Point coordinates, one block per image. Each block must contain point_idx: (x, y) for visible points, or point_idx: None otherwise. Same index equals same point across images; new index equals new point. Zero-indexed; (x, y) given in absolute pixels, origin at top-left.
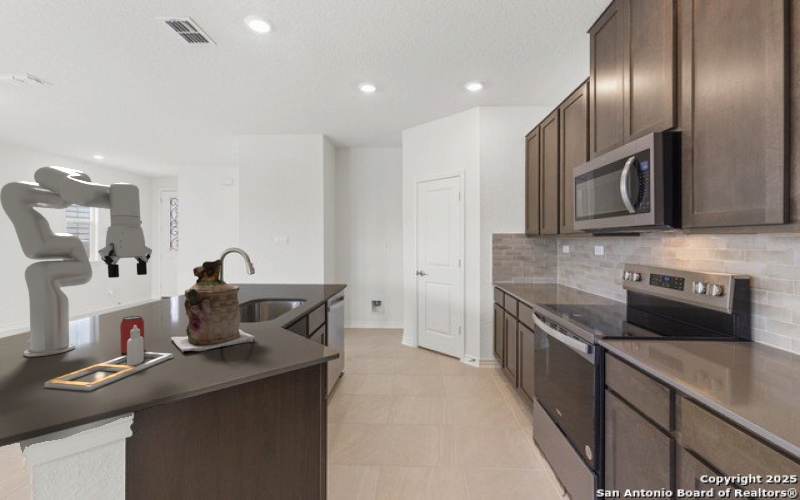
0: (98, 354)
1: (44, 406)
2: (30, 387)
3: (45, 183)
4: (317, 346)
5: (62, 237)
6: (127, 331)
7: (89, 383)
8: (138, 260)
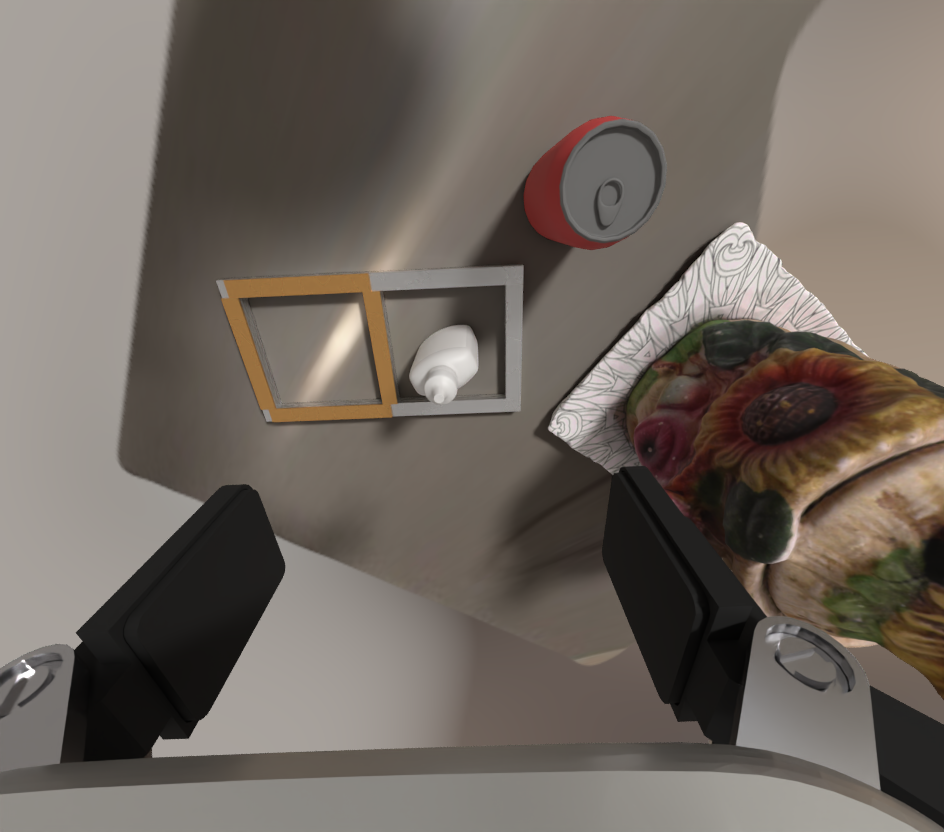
0: (502, 62)
1: (186, 405)
2: (200, 234)
3: None
4: None
5: None
6: (541, 214)
7: (272, 410)
8: (740, 699)
